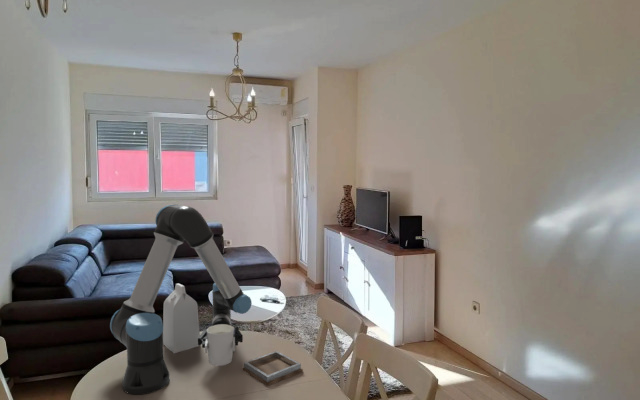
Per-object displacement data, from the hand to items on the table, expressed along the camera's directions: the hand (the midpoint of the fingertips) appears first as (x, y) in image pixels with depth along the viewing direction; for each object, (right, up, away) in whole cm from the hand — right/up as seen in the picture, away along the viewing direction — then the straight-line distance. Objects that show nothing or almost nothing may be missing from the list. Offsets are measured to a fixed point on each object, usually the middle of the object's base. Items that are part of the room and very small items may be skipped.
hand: (220, 348), depth 150 cm
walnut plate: (+18, -10, +6) cm, 22 cm away
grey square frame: (+18, -10, +6) cm, 22 cm away
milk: (-23, -9, +29) cm, 39 cm away
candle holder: (-1, -6, +5) cm, 8 cm away
